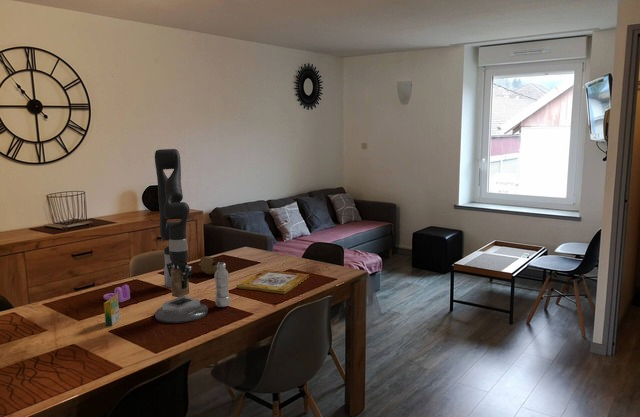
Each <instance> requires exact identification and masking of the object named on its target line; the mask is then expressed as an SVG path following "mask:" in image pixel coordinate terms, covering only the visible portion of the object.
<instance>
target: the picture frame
mask: <svg viewBox="0 0 640 417" xmlns="http://www.w3.org/2000/svg"><path fill="white" fill-rule="evenodd" d="M307 278H308V279H309V278H310V274H309V273H308V274H307V273H306V274H305V273H297V272H289V271H280V270H271V269H264V270H262V271H260V272H258V273H256V274H255V275H253V276H251V277H249V278H247V279H245V280H243V281H241V282H240V283H238V284H236V288H237V289H241V290H242V289H243V290H251V291H256V292H257V291H258V292H264V293H265V292H267V293H274V294H281V295H282V294H283V295H285V294H288V292H289V291H292V290H293V289H294V288H296V287H297V286H299V285H300V284H302V283H303V282H305V281H306V280H307ZM304 280H305V281H304ZM301 282H302V283H301ZM298 284H299V285H298Z"/></svg>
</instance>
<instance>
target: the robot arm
mask: <svg viewBox="0 0 640 417" xmlns="http://www.w3.org/2000/svg"><path fill="white" fill-rule="evenodd" d="M154 166H155V170H156V179H157V180H156V181H157V197H158V198H157V199H158V200H157V201H158V211H159V234H160V236H159V237H160V238H161V240H162V241H169V242H168V246H166V247H164V248H163V254H164V268H163V272H164V273H163V276H164V286H166V287H167V288H169V289H170V288H171V289H172V284H171V269H172V268H174V269H175V268H177V269H180V276H181V280H182V281H181V283H182V289H186V288H187V279H190V280H191V276H192V272H193V266H192V265H191V266H190V265H188V262H187V261H188V259H189V247H188V238H187V224H188V219H189V215H190V206H189V204H188V202H186V201H183V199H184V194H183V189H182V181H181V180H182V171H181V170H182V165H181V154H180V151H179V150H178V149H176V148H165V149H164V148H163V149H157V150H155V152H154ZM164 170H173V171H172V173H171V174H170V175H169V176H167V175H166V173H165V171H164ZM168 220H179V221H168ZM184 271H185V273H182V272H184ZM183 275H184V276H183Z"/></svg>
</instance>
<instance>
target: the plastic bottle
mask: <svg viewBox="0 0 640 417" xmlns="http://www.w3.org/2000/svg"><path fill="white" fill-rule="evenodd" d="M216 265H217V268H218V269H217V271H216V272H215V274H213V276H214V277H213V278H214V283H215V290H216V291H215V302H214V303H215V305H216V307H218V308H226V307H228V306H229V305H230V302H231V298H230V294H229V276H230V275H229V274H230V273H229V272H228V270H227V268H226V262H224V261H223V262H222V261H221V262H218V263H217V264H216Z"/></svg>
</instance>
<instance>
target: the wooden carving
mask: <svg viewBox="0 0 640 417" xmlns="http://www.w3.org/2000/svg"><path fill="white" fill-rule="evenodd" d="M199 259H200V262H199V263H198V266H200V270H201V271H202V272H204V273H205V274H206V275H207V274H208V275H212V274H213V275H215V272H216V271H217V269H218V268H217V264H216V260H215V258H213V257H211V256H209V255H207V256H202V257H200V258H199Z"/></svg>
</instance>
